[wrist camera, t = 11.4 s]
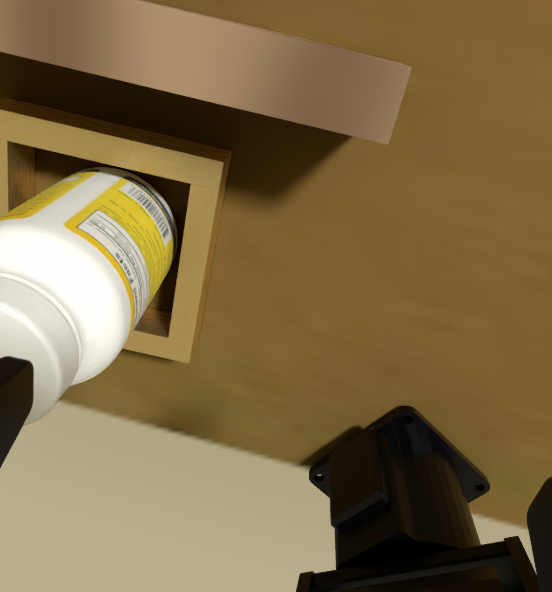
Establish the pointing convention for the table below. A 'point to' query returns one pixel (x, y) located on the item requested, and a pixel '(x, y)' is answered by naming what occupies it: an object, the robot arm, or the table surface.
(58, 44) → the brown wooden bar
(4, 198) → the frame
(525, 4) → the table surface
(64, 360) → the supplement bottle
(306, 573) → the robot arm
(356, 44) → the table surface
